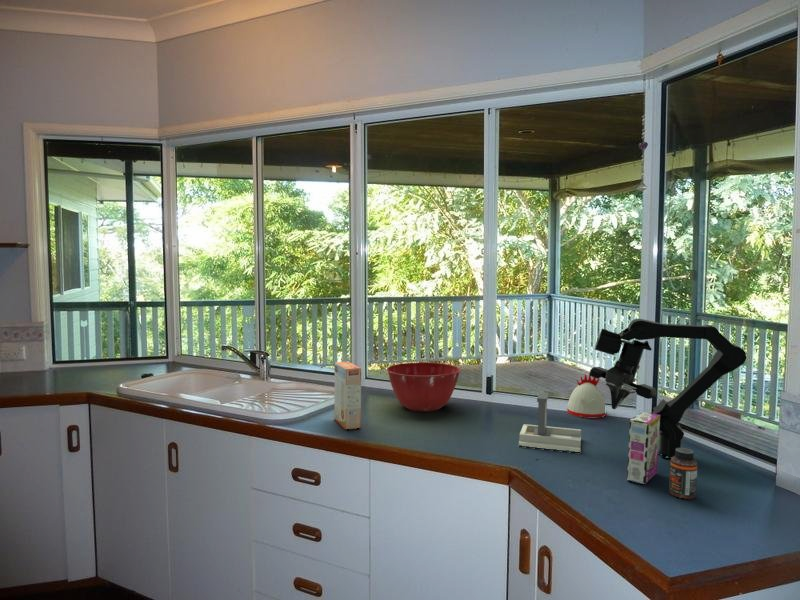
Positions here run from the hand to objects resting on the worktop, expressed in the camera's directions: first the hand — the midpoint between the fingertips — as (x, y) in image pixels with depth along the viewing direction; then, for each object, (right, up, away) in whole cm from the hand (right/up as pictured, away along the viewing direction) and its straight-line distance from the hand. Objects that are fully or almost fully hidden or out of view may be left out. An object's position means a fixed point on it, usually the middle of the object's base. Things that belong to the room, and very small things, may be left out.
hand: (613, 408), depth 169 cm
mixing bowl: (-55, -9, +49) cm, 74 cm away
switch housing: (-17, -12, +7) cm, 22 cm away
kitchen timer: (+5, -10, +41) cm, 43 cm away
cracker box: (-83, -11, +26) cm, 87 cm away
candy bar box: (0, -14, -20) cm, 25 cm away
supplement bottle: (+5, -15, -31) cm, 35 cm away
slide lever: (-20, -10, +8) cm, 23 cm away
